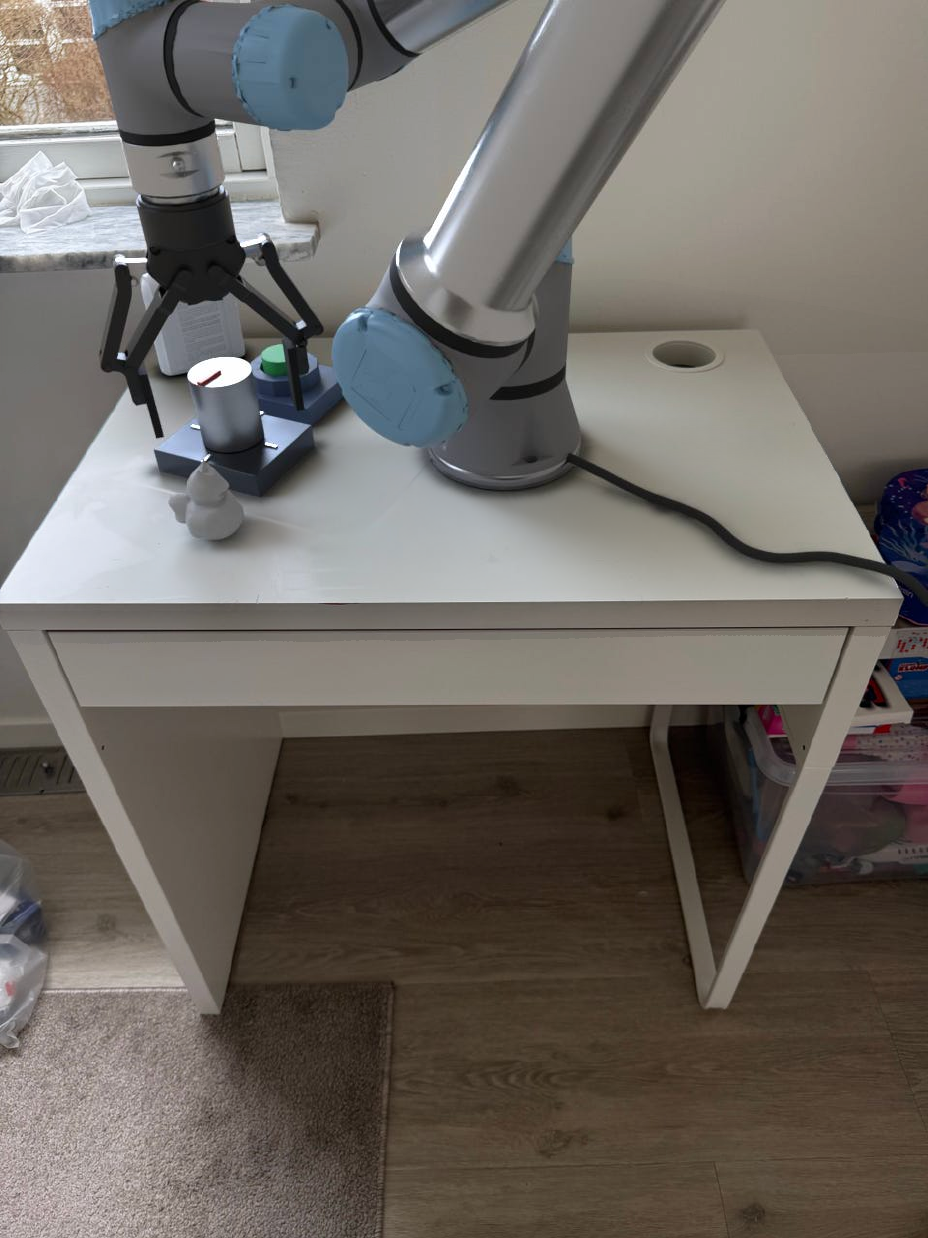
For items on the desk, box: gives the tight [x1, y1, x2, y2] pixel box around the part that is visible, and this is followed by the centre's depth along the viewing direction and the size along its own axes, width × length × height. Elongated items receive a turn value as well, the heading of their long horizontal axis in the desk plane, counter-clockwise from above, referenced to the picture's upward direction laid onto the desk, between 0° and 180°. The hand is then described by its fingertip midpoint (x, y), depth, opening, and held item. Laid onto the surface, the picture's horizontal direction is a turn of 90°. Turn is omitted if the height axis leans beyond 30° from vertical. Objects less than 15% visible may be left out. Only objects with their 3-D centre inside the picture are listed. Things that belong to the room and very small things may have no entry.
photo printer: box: [140, 273, 246, 377], centre depth 107 cm, size 10×4×12 cm, turn 123°
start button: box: [260, 343, 287, 376], centre depth 101 cm, size 4×4×2 cm
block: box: [249, 351, 344, 426], centre depth 103 cm, size 11×9×4 cm
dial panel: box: [153, 411, 315, 498], centre depth 94 cm, size 12×10×3 cm
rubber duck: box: [167, 458, 245, 541], centre depth 83 cm, size 5×7×8 cm
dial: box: [186, 357, 264, 453], centre depth 91 cm, size 6×6×7 cm
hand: (229, 417), depth 92 cm, fingers open, 13 cm apart
